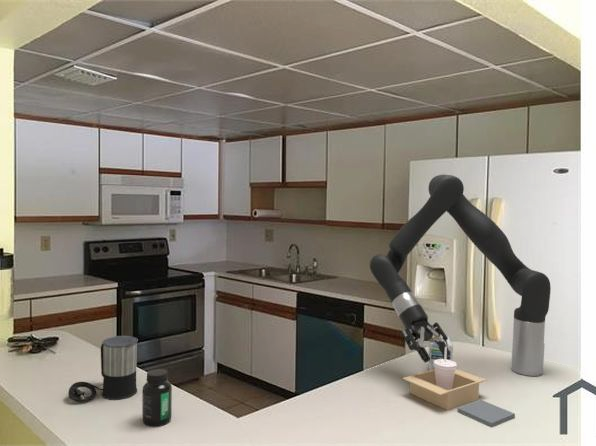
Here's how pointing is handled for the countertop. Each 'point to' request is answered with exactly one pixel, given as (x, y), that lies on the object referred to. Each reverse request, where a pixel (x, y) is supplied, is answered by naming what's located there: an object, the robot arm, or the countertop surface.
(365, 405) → the countertop surface
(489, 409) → the mat
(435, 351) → the light bulb box
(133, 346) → the milk frother
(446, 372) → the smoothie
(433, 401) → the carton
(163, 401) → the supplement bottle
